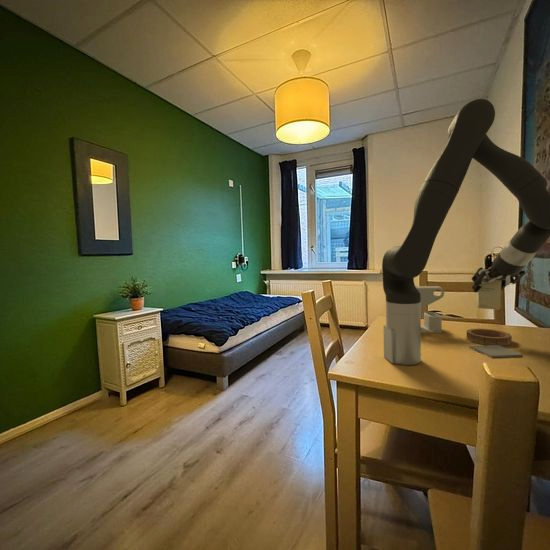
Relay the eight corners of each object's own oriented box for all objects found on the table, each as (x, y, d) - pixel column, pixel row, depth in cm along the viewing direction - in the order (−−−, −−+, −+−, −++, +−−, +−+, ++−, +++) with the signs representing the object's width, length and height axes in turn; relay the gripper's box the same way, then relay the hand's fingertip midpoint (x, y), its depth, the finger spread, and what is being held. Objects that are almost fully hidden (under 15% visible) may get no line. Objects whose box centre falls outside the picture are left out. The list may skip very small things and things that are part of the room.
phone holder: (435, 326, 120) (435, 283, 119) (444, 333, 110) (444, 286, 109) (390, 326, 123) (390, 284, 122) (396, 332, 113) (396, 287, 112)
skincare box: (478, 308, 98) (479, 272, 97) (476, 306, 102) (477, 272, 101) (501, 309, 95) (502, 273, 94) (498, 307, 99) (499, 272, 98)
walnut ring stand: (483, 346, 94) (483, 338, 93) (459, 335, 106) (459, 329, 106) (520, 345, 94) (520, 337, 93) (492, 334, 106) (492, 328, 106)
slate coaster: (490, 357, 84) (490, 355, 84) (469, 347, 93) (469, 346, 93) (521, 356, 84) (521, 354, 84) (497, 346, 93) (497, 344, 93)
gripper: (530, 247, 90) (500, 281, 102) (484, 248, 90) (460, 282, 102) (546, 264, 85) (512, 298, 97) (497, 265, 85) (469, 299, 97)
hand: (485, 290), depth 100 cm, fingers closed on skincare box, 7 cm apart
